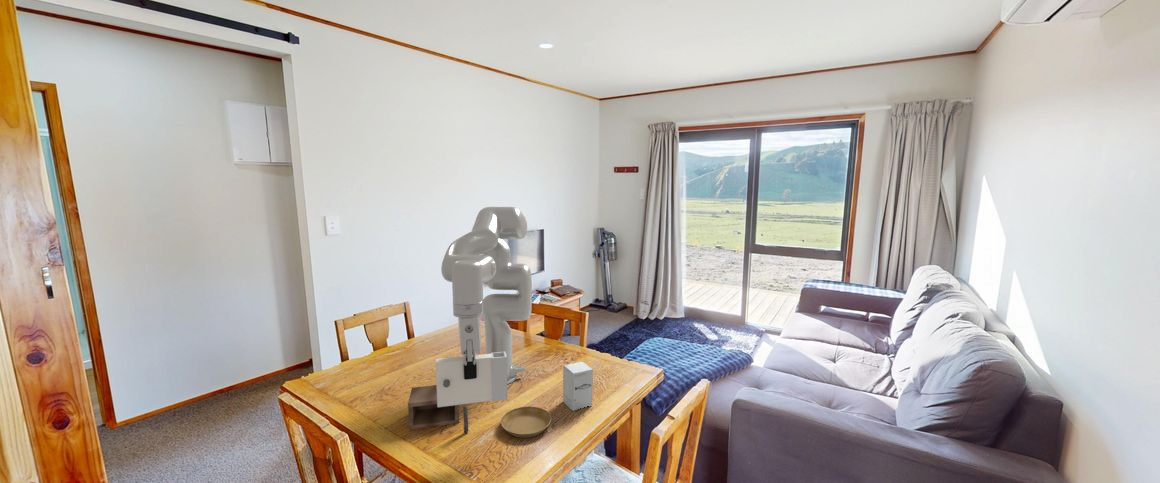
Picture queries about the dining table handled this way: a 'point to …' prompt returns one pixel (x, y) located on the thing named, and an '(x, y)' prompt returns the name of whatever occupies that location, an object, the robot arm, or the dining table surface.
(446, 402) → the door
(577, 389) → the supplement box
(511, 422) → the plant saucer
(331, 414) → the dining table surface
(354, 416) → the dining table surface
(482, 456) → the dining table surface
